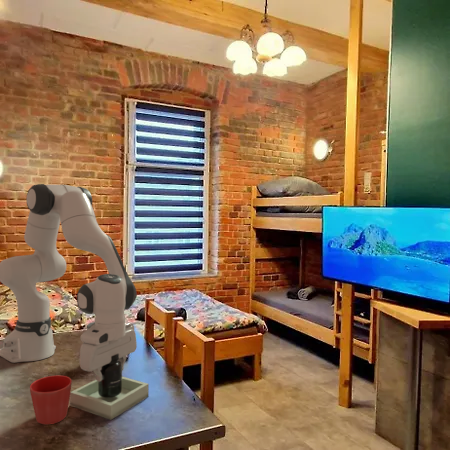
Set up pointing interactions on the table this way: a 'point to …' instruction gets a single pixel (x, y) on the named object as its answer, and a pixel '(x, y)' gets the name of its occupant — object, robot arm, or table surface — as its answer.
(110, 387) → the supplement bottle
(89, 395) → the tray
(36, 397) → the flower pot
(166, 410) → the table surface
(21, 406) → the table surface
